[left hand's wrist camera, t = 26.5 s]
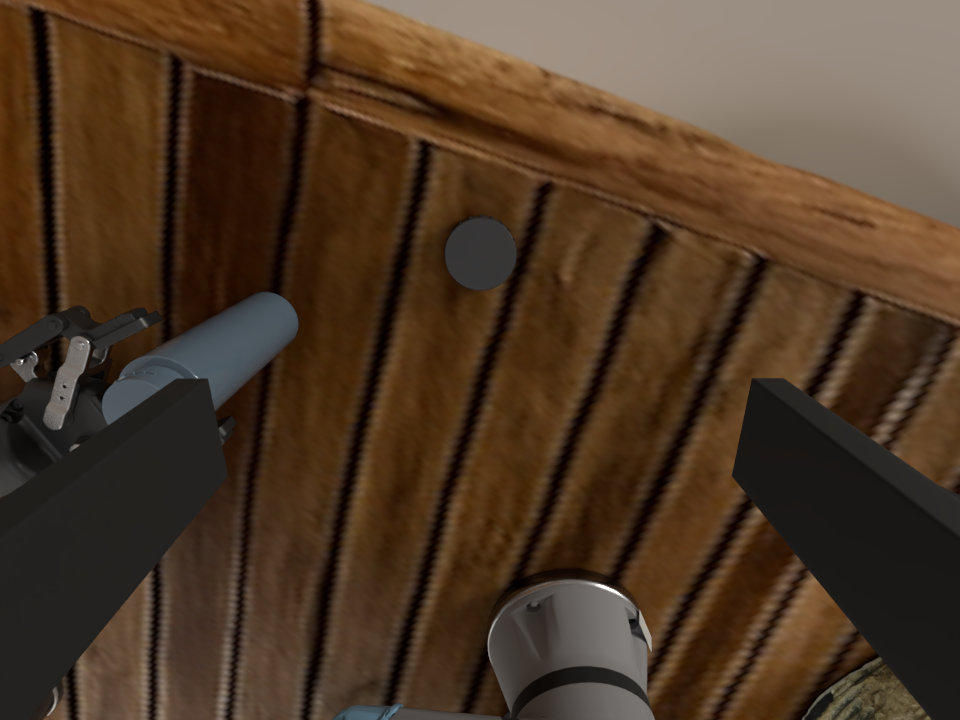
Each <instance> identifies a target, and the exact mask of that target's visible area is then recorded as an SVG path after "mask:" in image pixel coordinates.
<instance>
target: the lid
mask: <svg viewBox="0 0 960 720" xmlns="http://www.w3.org/2000/svg"><path fill="white" fill-rule="evenodd" d="M446 241H447V243H446V247H445V250H444V252H445V263H446V265H447V268H448V270H449V273H450V274H451V275H452V277H453V278H454V279H455V280H456V281H457V282H458V283H460V284H461V285H463V286H465V287H467V288H469V289H473V290H488V289H492V288H494V287H497V286H498V285H500V284H501V283H503V282H504V281H505V280H506V279H507V278H508V277H509V275H510V274H511V273H512V271H513V268H514V266H515V263H516V253H517V250H516V247H515V243H514V242H515V240H514V238H512V236H511V234H510V230H509V229H507V228H506V227H505V226H504V225H503V224H502V222H501V221H498V220H496V219H494V218H492V216H491V217H488V216H482V215H480V216H473V217H471V216H470V217H469V218H467V219H465V220H463V221H460V223H459V224H458V225H457V226H456V227H455V228H453V229H452V232H451V234H450V236H449V237H448V238H447V240H446Z"/></svg>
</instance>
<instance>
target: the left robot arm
mask: <svg viewBox="0 0 960 720" xmlns="http://www.w3.org/2000/svg"><path fill="white" fill-rule="evenodd" d="M227 477H228V473H227V469H226V464H225V459H224V454H223V449H222V444H221V439H220V434H219V430H218V425H217V420H216V415H215V410H214V405H213V400H212V395H211V391H210V386H209V381H208V378H176V379H175V380H173V381H172V382H170V383H169V384H168V385H166V386H165V387H163V388H162V389H160V390H159V391H157V392H156V393H154V394H153V395H152V396H150V397H149V398H147V399H146V400H144V401H143V402H141V403H140V404H139V405H137V406H136V407H134V408H133V409H131V410H130V411H128V412H127V413H126V414H124V415H123V416H121V417H120V418H118V419H117V420H115V421H114V422H113V423H111V424H110V425H108V426H107V427H105V428H104V429H102V430H101V431H99V432H98V433H97V434H95V435H94V436H92V437H91V438H89V439H88V440H86V441H85V442H84V443H82V444H81V445H79V446H78V447H76V448H75V449H73V450H72V451H71V452H69V453H68V454H66V455H65V456H63V457H62V458H60V459H59V460H58V461H56V462H55V463H53V464H52V465H50V466H49V467H47V468H46V469H44V470H43V471H42V472H40V473H39V474H37V475H36V476H34V477H33V478H31V479H30V480H29V481H27V482H26V483H24V484H23V485H21V486H20V487H18V488H17V489H16V490H14V491H13V492H11V493H9V494H7V495H5V496H3V497H1V498H0V720H29V718H30V717H31V716H32V715H33V714H34V712H35V711H36V710H37V709H38V707H39V706H40V705H41V704H42V703H43V701H44V700H45V699H46V698H47V697H48V695H49V694H50V693H51V692H52V690H53V689H54V688H55V687H56V686H57V684H58V683H59V682H60V681H61V679H62V678H63V677H64V676H65V675H66V673H67V672H68V671H69V670H70V668H71V667H72V666H73V665H74V664H75V662H76V661H77V660H78V659H79V657H80V656H81V655H82V654H83V653H84V651H85V650H86V649H87V648H88V646H89V645H90V644H91V643H92V642H93V640H94V639H95V638H96V637H97V635H98V634H99V633H100V632H101V631H102V629H103V628H104V627H105V626H106V624H107V623H108V622H109V621H110V620H111V618H112V617H113V616H114V615H115V613H116V612H117V611H118V610H119V609H120V607H121V606H122V605H123V604H124V603H125V601H126V600H127V599H128V598H129V596H130V595H131V594H132V593H133V592H134V590H135V589H136V588H137V587H138V585H139V584H140V583H141V582H142V581H143V579H144V578H145V577H146V576H147V574H148V573H149V572H150V571H151V570H152V568H153V567H154V566H155V565H156V563H157V562H158V561H159V560H160V559H161V557H162V556H163V555H164V554H165V552H166V551H167V550H168V549H169V548H170V546H171V545H172V544H173V543H174V541H175V540H176V539H177V538H178V537H179V535H180V534H181V533H182V532H183V530H184V529H185V528H186V527H187V526H188V524H189V523H190V522H191V521H192V520H193V518H194V517H195V516H196V515H197V513H198V512H199V511H200V510H201V509H202V507H203V506H204V505H205V504H206V502H207V501H208V500H209V499H210V498H211V496H212V495H213V494H214V493H215V491H216V490H217V489H218V488H219V487H220V485H221V484H222V483H223V482H224V480H225V479H226V478H227ZM732 477H733V478H734V479H735V480H736V482H737V483H738V484H739V485H740V487H741V488H742V489H743V490H744V491H745V493H746V494H747V495H748V496H749V498H750V499H751V500H752V501H753V502H754V504H755V505H756V506H757V507H758V509H759V510H760V511H761V512H762V513H763V515H764V516H765V517H766V518H767V520H768V521H769V522H770V523H771V524H772V526H773V527H774V528H775V529H776V530H777V532H778V533H779V534H780V535H781V537H782V538H783V539H784V540H785V541H786V543H787V544H788V545H789V546H790V548H791V549H792V550H793V551H794V552H795V554H796V555H797V556H798V557H799V559H800V560H801V561H802V562H803V563H804V565H805V566H806V567H807V568H808V570H809V571H810V572H811V573H812V574H813V576H814V577H815V578H816V579H817V581H818V582H819V583H820V584H821V585H822V587H823V588H824V589H825V590H826V592H827V593H828V594H829V595H830V596H831V598H832V599H833V600H834V601H835V603H836V604H837V605H838V606H839V607H840V609H841V610H842V611H843V612H844V613H845V615H846V616H847V617H848V618H849V620H850V621H851V622H852V623H853V624H854V626H855V627H856V628H857V629H858V631H859V632H860V633H861V634H862V635H863V637H864V638H865V639H866V640H867V642H868V643H869V644H870V645H871V646H872V648H873V649H874V650H875V651H876V653H877V654H878V655H879V656H880V657H881V659H882V660H883V661H884V662H885V664H886V665H887V666H888V667H889V668H890V670H891V671H892V672H893V673H894V675H895V676H896V677H897V678H898V679H899V681H900V682H901V683H902V684H903V686H904V687H905V688H906V689H907V690H908V692H909V693H910V694H911V695H912V697H913V698H914V699H915V700H916V701H917V703H918V704H919V705H920V706H921V707H922V709H923V710H924V711H925V712H926V714H927V715H928V716H929V717H930V718H931V720H960V495H958V494H956V493H954V492H951V491H949V490H947V489H945V488H943V487H941V486H939V485H937V484H936V483H934V482H933V481H931V480H930V479H929V478H927V477H926V476H924V475H923V474H921V473H920V472H918V471H917V470H915V469H914V468H913V467H911V466H910V465H908V464H907V463H905V462H904V461H902V460H901V459H900V458H898V457H897V456H895V455H894V454H892V453H891V452H889V451H888V450H887V449H885V448H884V447H882V446H881V445H879V444H878V443H876V442H875V441H874V440H872V439H871V438H869V437H868V436H866V435H865V434H863V433H862V432H861V431H859V430H858V429H856V428H855V427H853V426H852V425H850V424H849V423H847V422H846V421H845V420H843V419H842V418H840V417H839V416H837V415H836V414H834V413H833V412H832V411H830V410H829V409H827V408H826V407H824V406H823V405H821V404H820V403H819V402H817V401H816V400H814V399H813V398H811V397H810V396H808V395H807V394H806V393H804V392H803V391H801V390H800V389H798V388H797V387H795V386H794V385H792V384H791V383H790V382H788V381H787V380H785V379H784V378H752V381H751V386H750V391H749V395H748V400H747V405H746V410H745V415H744V420H743V425H742V430H741V434H740V439H739V444H738V449H737V454H736V459H735V464H734V469H733V473H732ZM647 643H648V645H649V647H650V650H651V652H652V646H651V635H650V633H649V631H648V628H647V626H646V623H645V621H644V619H643V616H642V614H641V612H640V609H639V607H638V604H637V603H636V601H635V599H634V598H633V596H632V595H631V594H630V593H629V592H628V591H627V590H626V589H625V588H624V587H623V586H622V585H620V584H619V583H617V582H616V581H614V580H612V579H610V578H608V577H606V576H603V575H601V574H598V573H594V572H590V571H584V570H574V569H563V570H554V571H548V572H544V573H540V574H537V575H534V576H532V577H529V578H527V579H525V580H523V581H521V582H519V583H518V584H516V585H515V586H513V587H512V588H511V589H509V590H508V591H507V592H506V593H505V594H504V595H503V596H502V597H501V598H500V599H499V600H498V602H497V603H496V605H495V606H494V608H493V610H492V612H491V615H490V618H489V622H488V653H489V658H490V661H491V664H492V666H493V668H494V671H495V674H496V676H497V679H498V681H499V684H500V687H501V689H502V692H503V695H504V697H505V700H506V702H507V705H508V708H509V711H508V712H507V713H506V714H505V715H504V716H503V717H498V716H488V715H478V714H467V713H457V712H447V711H437V710H427V709H416V708H406V707H403V704H399V703H396V704H394V705H392V706H372V705H353V706H349V707H347V708H345V709H343V710H342V711H340V712H339V713H338V714H337V715H336V716H335V717H334V718H333V719H332V720H655V719H654V716H653V713H652V710H651V707H650V703H649V700H648V697H647Z"/></svg>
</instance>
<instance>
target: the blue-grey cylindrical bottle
mask: <svg viewBox="0 0 960 720" xmlns="http://www.w3.org/2000/svg"><path fill="white" fill-rule="evenodd" d="M297 331H298V318H297V314H296V312H295V310H294V308H293V307H292V305H291V304H290V303H289V302H288V301H287V300H285V299H284V298H283V297H281V296H279V295H277V294H274V293H270V292H259V293H255V294H253V295H251V296H249V297H247V298H245V299H243V300H242V301H240V302H238V303H236V304H234V305H232V306H231V307H229V308H227V309H225V310H223V311H222V312H220V313H218V314H216V315H214V316H213V317H211V318H209V319H207V320H205V321H204V322H202V323H200V324H198V325H196V326H194V327H193V328H191V329H189V330H187V331H185V332H184V333H182V334H180V335H178V336H176V337H175V338H173V339H171V340H169V341H167V342H166V343H164V344H162V345H160V346H158V347H157V348H155V349H153V350H151V351H149V352H147V353H146V354H144V355H142V356H140V357H138V358H137V359H135V360H133V361H131V362H130V363H129V364H128V365H126V367H125V368H124V369H123V370H122V372H121V374H120V376H119V379H117V380H116V381H115V382H114V383H113V385H111V386H110V387H109V388H108V389H107V390H106V392H105V394H104V396H103V399H102V412H103V415H104V418H105V420H106V422H107V424H108V425H110V424H111V423H113V422H114V421H115V420H117V419H118V418H120V417H121V416H123V415H124V414H126V413H127V412H128V411H130V410H131V409H133V408H134V407H136V406H137V405H139V404H140V403H141V402H143V401H144V400H146V399H147V398H149V397H150V396H152V395H153V394H154V393H156V392H157V391H159V390H160V389H162V388H163V387H165V386H166V385H168V384H169V383H170V382H172V381H173V380H175V379H176V378H208V381H209V386H210V391H211V395H212V400H213V405H214V410H215V411H216V410H218V409H219V408H220V407H221V406H222V405H223V404H224V403H225V402H226V401H227V400H228V399H229V398H231V397H232V396H233V395H234V394H235V393H236V392H237V391H238V390H239V389H240V388H241V387H243V386H244V385H245V384H246V383H247V382H248V381H249V380H250V379H251V378H252V377H253V376H255V375H256V374H257V373H258V372H259V371H260V370H261V369H262V368H263V367H264V366H265V365H267V364H268V363H269V362H270V361H271V360H272V359H273V358H274V357H275V356H276V355H277V354H279V353H280V352H281V351H282V350H283V349H284V348H285V347H286V346H287V345H288V344H289V343H291V341H292V340H293V339H294V338H295V336H296V334H297Z"/></svg>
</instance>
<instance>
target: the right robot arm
mask: <svg viewBox="0 0 960 720" xmlns="http://www.w3.org/2000/svg"><path fill="white" fill-rule="evenodd" d="M161 320H163V319H162V317H161V316H160V315H159V313H158V312H157V311H154V312H152V313H150V314H148V313H147V311H146V310H145V309H144V308H135V309H133V310H130V311H128V312H126V313H123V314H121V315H119V316H117V317H115V318H113V319H111V320H109V321H107V322H105V323H103V324H100V323H97V322H95V321H94V320H92V319H91V318H90V313H89V311H88V310H87V309H86V308H85V307H83V306H74V307H71V308H69V309H68V310H65V311H62V312H60V313H57V314H51V315H48V316H46V317H44V318H43V319H41V320H39V321H38V322H36V323H35V324H33V325H31V326H30V327H28V328H27V329H25V330H23V331H22V332H20V333H19V334H17V335H16V336H14V337H12V338H11V339H9V340H8V341H6V342H4V343H3V344H1V345H0V367H5V366H8V365H10V366H11V367H12V368H13V369H14V370H15V371H16V372H17V373H18V375H19V376H20V377H21V378H22V379H23V380H24V381H25V382H26V384H25V386H24V388H23V390H22V392H21V393H20V394H18V395H16V396H14V397H12V398H10V399H8V400H6V401H4V402H2V403H0V498H1V497H3V496H5V495H7V494H9V493H11V492H13V491H14V490H16V489H17V488H18V487H20V486H21V485H23V484H24V483H26V482H27V481H29V480H30V479H31V478H33V477H34V476H36V475H37V474H39V473H40V472H42V471H43V470H44V469H46V468H47V467H49V466H50V465H52V464H53V463H55V462H56V461H58V460H59V459H60V458H62V457H63V456H65V455H66V454H68V453H69V452H71V451H72V450H73V449H75V448H76V447H78V446H79V445H81V444H82V443H84V442H85V441H86V440H88V439H89V438H91V437H92V436H94V435H95V434H97V433H98V432H99V431H101V430H102V429H104V428H105V427H107V426H108V424H107V422H106V420H105V418H104V415H103V412H102V399H103V396H104V394H105V392H106V390H107V389H108V388H109V387H110V386H111V385H110V384H109V383H108V382H106V381H107V378H108V374H109V371H110V367H111V364H112V358H110V353H111V350H112V346H113V344H115V343H117V342H119V341H121V340H123V339H125V338H127V337H129V336H131V335H133V334H135V333H137V332H139V331H141V330H143V329H145V328H147V327H149V326H151V325H153V324H155V323H157V322H159V321H161ZM62 337H66V338H67V339H69V340H70V345H69V349H68V353H67V357H66V361H65V363H64V364H63V365H62V366H61V367H60V368H59V370H58V372H54V371H52V372H47V371H46V370H45V368H44V363H45V361H46V360H47V359H48V357H49V353H51V348H49V347H47V346H49V345H50V344H52V343H54V342H55V341H57V340H59V339H60V338H62ZM236 424H237V423H236V422H235V420H234V419H233V417H232V416H231V415H230V416H227V417H225V418H223V419H221V420H218V421H217V425H218V430H219V434H220V439H221V444H222V445H223V444H224V443H225V442H226V441H227V439H228V438H229V437H230V436H231V435H232V434H233V433H234V432H233V431H232V430H231V429H232V428H233V427H234V426H235V425H236ZM61 698H62V685H61V683H60V682H59V683H58V684H57V686H56V687H55V688H54V689H53V690H52V692H51V693H50V694H49V695H48V697H47V698H46V699H45V700H44V701H43V703H42V704H41V705H40V706H39V707H38V709H37V710H36V711H35V712H34V714H33V715H32V716H31V717H30V718H29V720H44V719H45V718H46V716H48V715H49V714H50V713H51V712H52V711H53V709H54V708H55V707H56V706H57V704H58V703H59V702H60V700H61Z"/></svg>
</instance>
